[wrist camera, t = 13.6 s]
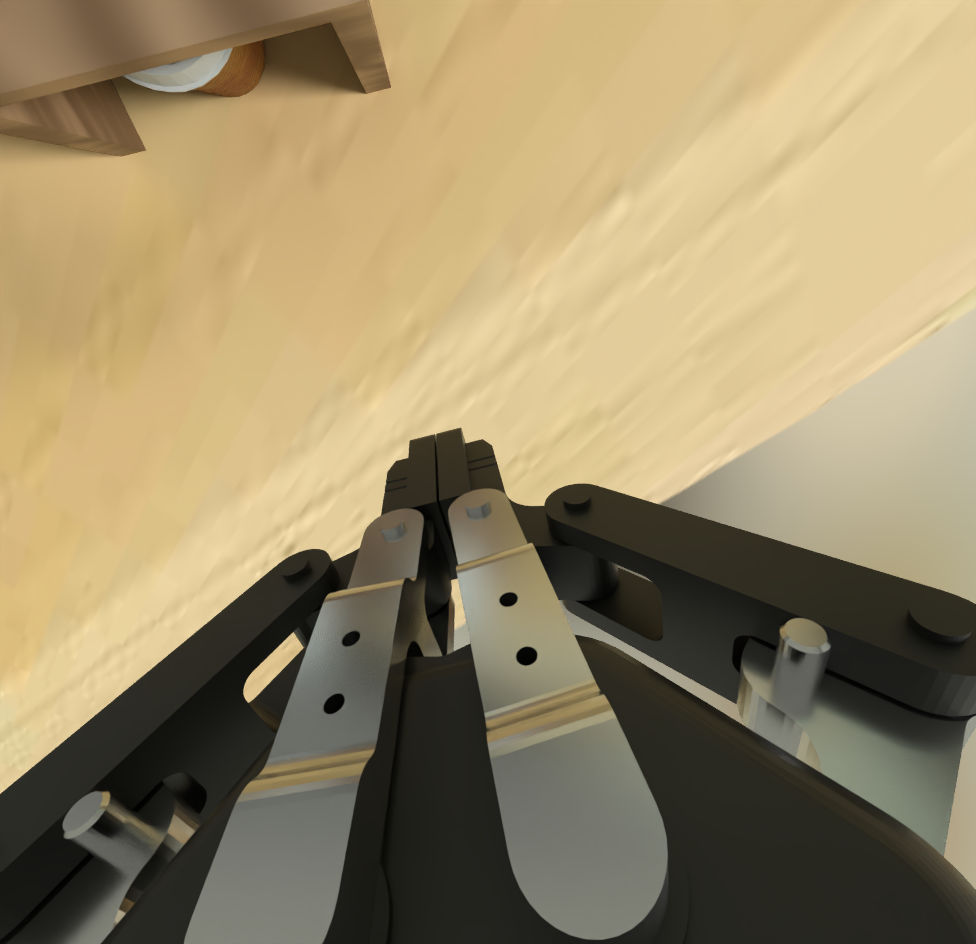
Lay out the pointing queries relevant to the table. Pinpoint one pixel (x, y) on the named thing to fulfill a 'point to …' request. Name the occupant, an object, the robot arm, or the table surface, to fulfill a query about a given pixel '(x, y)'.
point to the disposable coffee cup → (209, 72)
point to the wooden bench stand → (141, 55)
